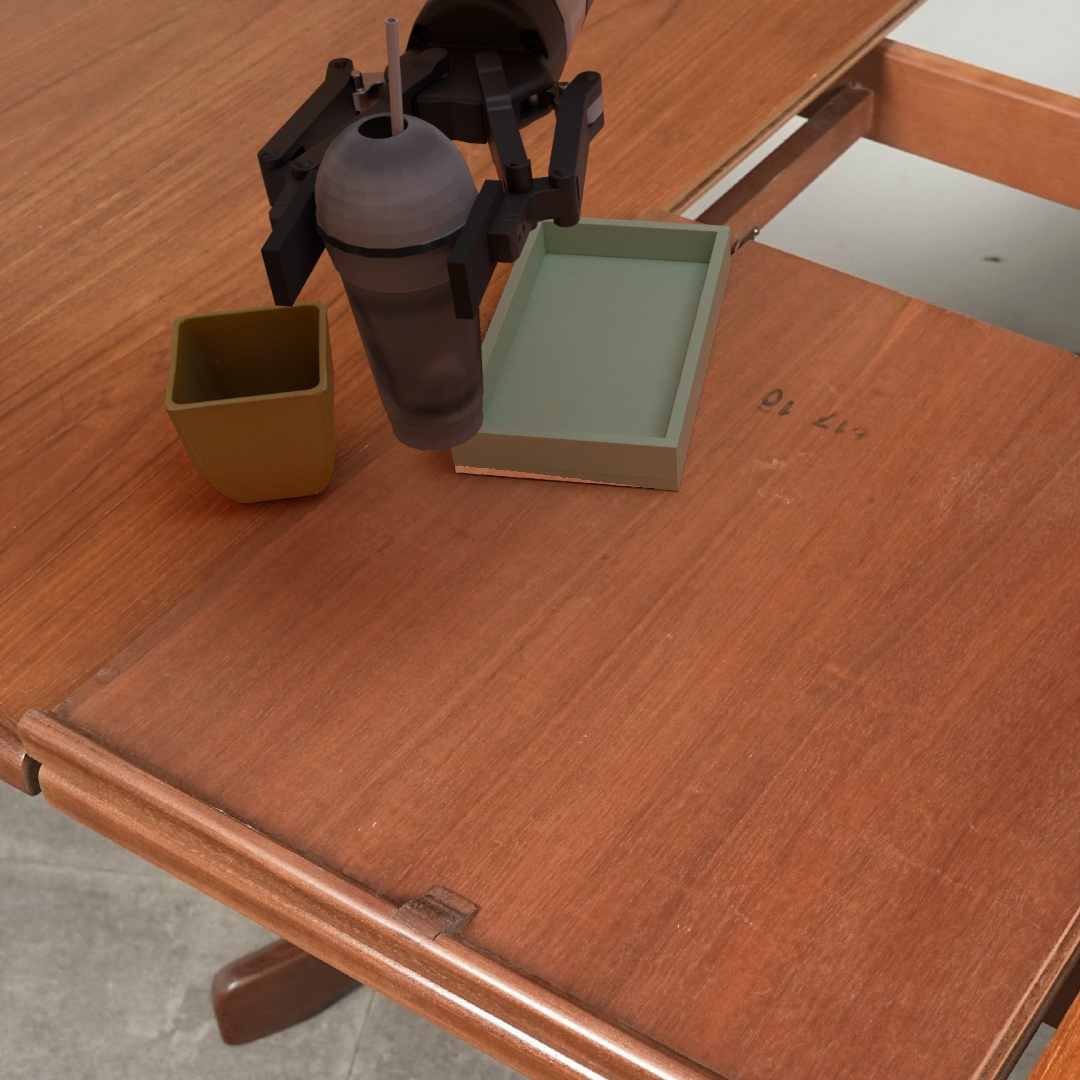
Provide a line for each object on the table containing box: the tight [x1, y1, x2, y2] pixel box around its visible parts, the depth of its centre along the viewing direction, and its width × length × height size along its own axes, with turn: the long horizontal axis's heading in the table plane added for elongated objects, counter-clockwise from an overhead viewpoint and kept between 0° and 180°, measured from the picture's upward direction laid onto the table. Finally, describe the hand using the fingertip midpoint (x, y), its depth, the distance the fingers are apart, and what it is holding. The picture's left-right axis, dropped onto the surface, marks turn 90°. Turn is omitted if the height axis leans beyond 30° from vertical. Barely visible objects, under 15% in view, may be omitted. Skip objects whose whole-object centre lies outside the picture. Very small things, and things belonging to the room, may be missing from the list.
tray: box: [450, 216, 732, 492], centre depth 99 cm, size 24×14×3 cm, turn 172°
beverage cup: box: [315, 16, 484, 452], centre depth 69 cm, size 7×7×20 cm
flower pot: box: [164, 300, 336, 504], centre depth 90 cm, size 9×9×9 cm
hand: (368, 284), depth 65 cm, fingers closed on beverage cup, 7 cm apart
